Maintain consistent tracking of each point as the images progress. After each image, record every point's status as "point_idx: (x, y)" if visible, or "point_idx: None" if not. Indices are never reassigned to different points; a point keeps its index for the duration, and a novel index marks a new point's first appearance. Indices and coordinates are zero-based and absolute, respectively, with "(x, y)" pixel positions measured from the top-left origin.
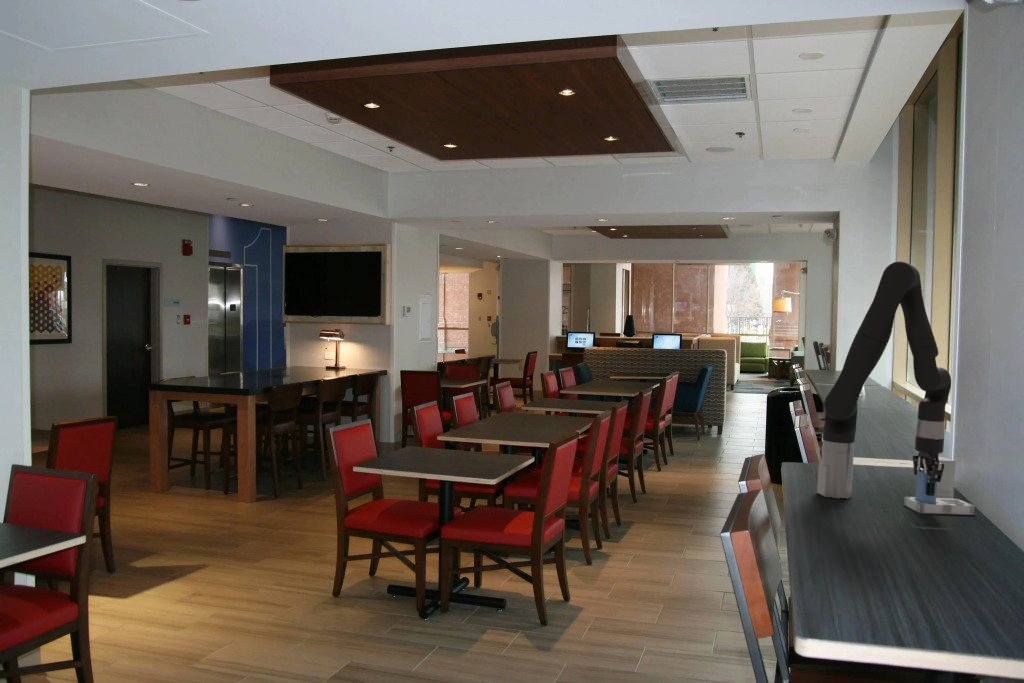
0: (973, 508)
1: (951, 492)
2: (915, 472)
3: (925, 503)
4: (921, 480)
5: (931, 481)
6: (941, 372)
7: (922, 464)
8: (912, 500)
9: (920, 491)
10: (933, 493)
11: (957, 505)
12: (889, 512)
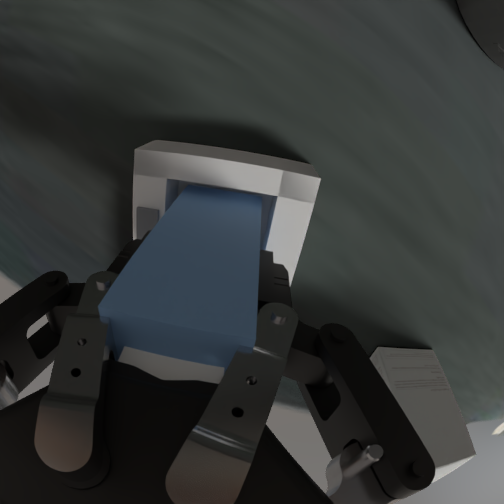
0: None
1: None
2: (331, 341)
3: (150, 193)
4: (166, 266)
5: (54, 273)
6: None
7: (193, 426)
8: (222, 161)
9: (193, 221)
10: None
11: None
12: (198, 10)
